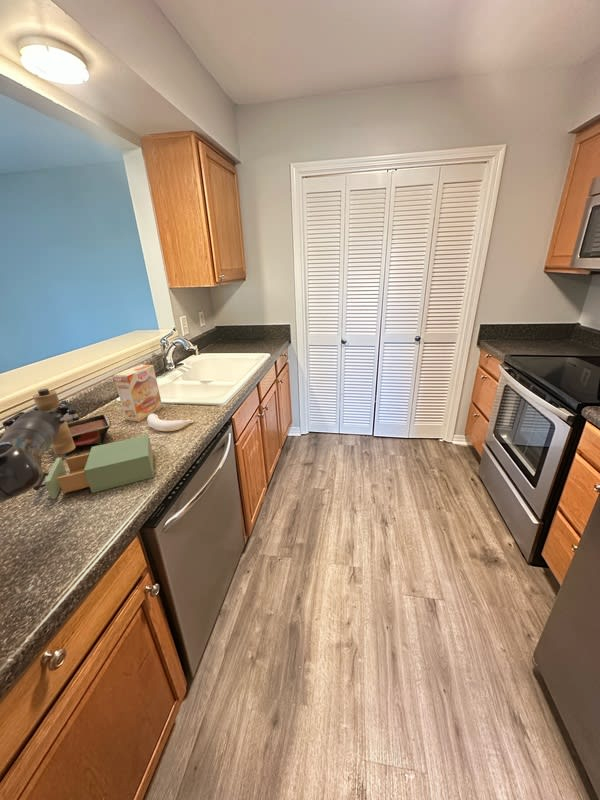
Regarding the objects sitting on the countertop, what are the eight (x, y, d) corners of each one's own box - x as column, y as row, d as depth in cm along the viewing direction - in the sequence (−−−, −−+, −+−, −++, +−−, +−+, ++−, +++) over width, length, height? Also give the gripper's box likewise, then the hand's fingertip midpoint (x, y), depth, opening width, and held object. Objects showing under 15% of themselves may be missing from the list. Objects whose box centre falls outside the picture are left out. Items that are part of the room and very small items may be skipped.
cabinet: (91, 493, 88) (83, 470, 86) (98, 467, 100) (91, 446, 97) (153, 477, 94) (148, 455, 91) (153, 454, 106) (148, 434, 103)
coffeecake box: (139, 421, 130) (127, 375, 122) (124, 420, 132) (112, 374, 124) (163, 407, 143) (153, 364, 135) (150, 405, 145) (140, 363, 137)
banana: (141, 422, 129) (177, 411, 138) (160, 440, 116) (198, 426, 125) (139, 411, 127) (175, 400, 136) (157, 428, 114) (196, 415, 123)
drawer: (33, 503, 84) (25, 486, 82) (46, 477, 95) (40, 461, 93) (113, 483, 90) (107, 467, 88) (116, 461, 101) (112, 446, 99)
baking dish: (113, 450, 114) (111, 423, 111) (50, 459, 104) (45, 430, 102) (111, 436, 125) (109, 412, 123) (54, 444, 116) (50, 417, 114)
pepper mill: (52, 456, 78) (28, 394, 72) (56, 447, 82) (34, 388, 76) (73, 451, 80) (51, 391, 74) (77, 443, 84) (56, 385, 78)
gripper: (67, 410, 66) (82, 386, 80) (-22, 426, 61) (11, 397, 75) (78, 443, 69) (91, 414, 83) (-6, 460, 64) (23, 426, 78)
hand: (53, 406), depth 79 cm, fingers closed on pepper mill, 4 cm apart
